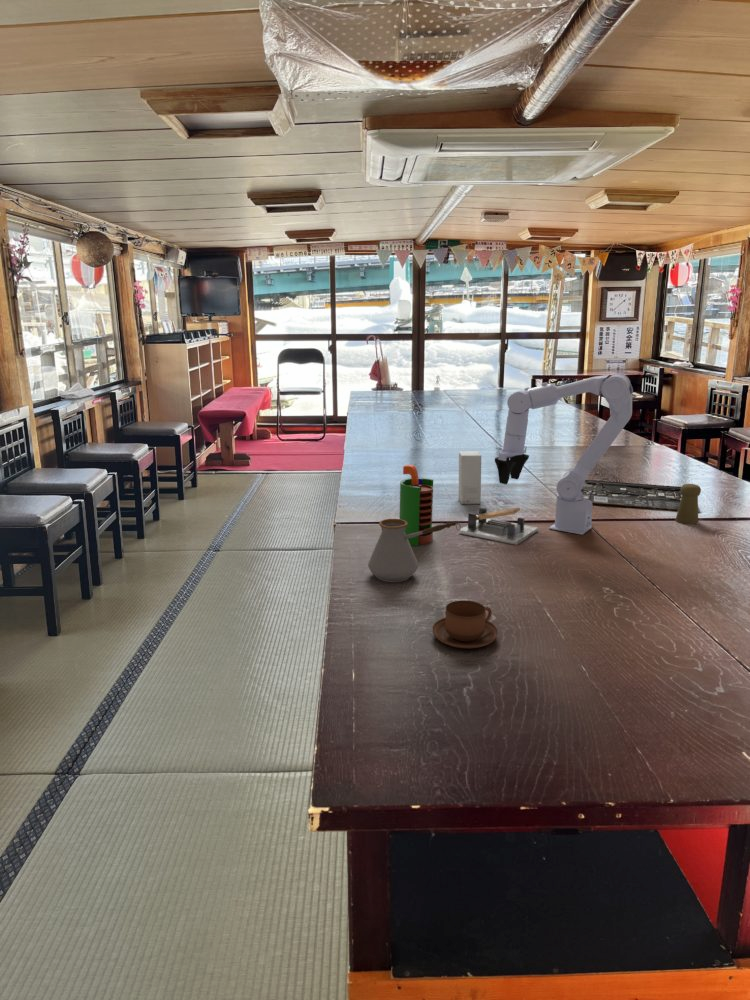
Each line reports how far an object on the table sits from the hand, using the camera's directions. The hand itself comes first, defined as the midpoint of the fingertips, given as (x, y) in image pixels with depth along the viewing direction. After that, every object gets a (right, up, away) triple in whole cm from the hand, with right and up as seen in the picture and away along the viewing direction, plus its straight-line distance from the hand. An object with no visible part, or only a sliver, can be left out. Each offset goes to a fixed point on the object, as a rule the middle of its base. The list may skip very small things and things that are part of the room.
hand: (508, 481), depth 194 cm
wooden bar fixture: (-4, -14, -7) cm, 16 cm away
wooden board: (-5, -10, -7) cm, 13 cm away
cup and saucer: (-21, -31, -67) cm, 77 cm away
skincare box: (-8, -6, +24) cm, 26 cm away
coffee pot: (-29, -24, -39) cm, 54 cm away
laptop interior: (+47, -5, +27) cm, 54 cm away
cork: (+51, -12, +2) cm, 53 cm away
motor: (-27, -16, -12) cm, 34 cm away
